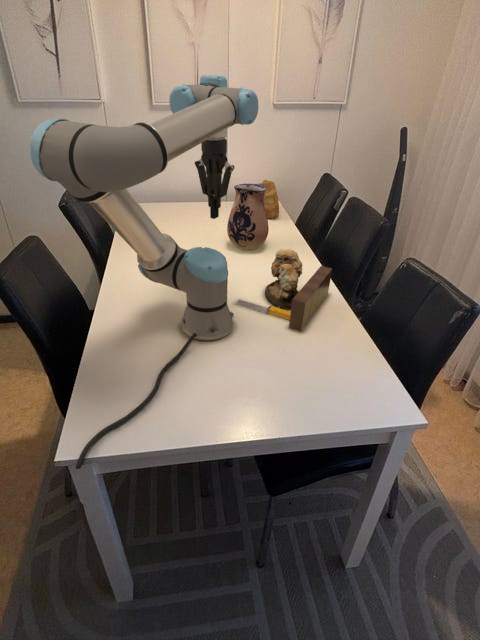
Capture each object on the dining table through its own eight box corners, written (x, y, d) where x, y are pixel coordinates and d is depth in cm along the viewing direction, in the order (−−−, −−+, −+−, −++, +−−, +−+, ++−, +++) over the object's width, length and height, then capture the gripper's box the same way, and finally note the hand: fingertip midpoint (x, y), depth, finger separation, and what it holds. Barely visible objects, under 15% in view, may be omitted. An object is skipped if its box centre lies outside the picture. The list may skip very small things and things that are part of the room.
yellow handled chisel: (295, 317, 123) (295, 312, 122) (291, 321, 121) (292, 316, 120) (239, 300, 131) (239, 295, 130) (235, 304, 129) (235, 299, 128)
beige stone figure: (258, 284, 140) (261, 240, 131) (290, 282, 142) (295, 238, 133) (272, 311, 125) (277, 263, 116) (307, 308, 128) (314, 260, 118)
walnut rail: (301, 331, 117) (305, 303, 111) (288, 327, 118) (292, 299, 113) (327, 294, 136) (332, 268, 130) (316, 291, 137) (321, 265, 132)
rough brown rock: (245, 207, 216) (243, 179, 207) (274, 204, 216) (274, 177, 208) (247, 223, 197) (246, 193, 189) (280, 220, 198) (280, 191, 189)
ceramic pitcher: (220, 250, 164) (220, 190, 150) (238, 233, 181) (239, 177, 167) (260, 257, 159) (264, 196, 146) (274, 239, 176) (279, 182, 162)
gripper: (240, 138, 113) (237, 217, 126) (202, 134, 118) (203, 210, 131) (227, 142, 108) (226, 224, 121) (188, 137, 113) (191, 216, 126)
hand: (214, 217), depth 126 cm, fingers closed
